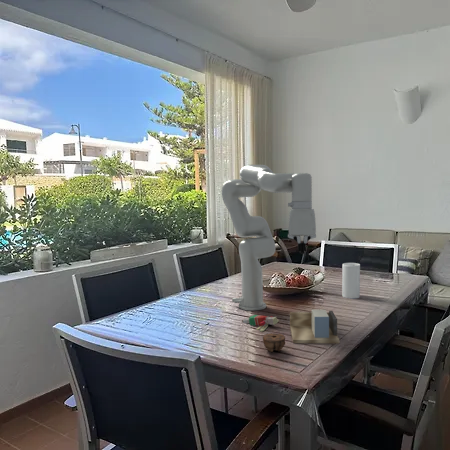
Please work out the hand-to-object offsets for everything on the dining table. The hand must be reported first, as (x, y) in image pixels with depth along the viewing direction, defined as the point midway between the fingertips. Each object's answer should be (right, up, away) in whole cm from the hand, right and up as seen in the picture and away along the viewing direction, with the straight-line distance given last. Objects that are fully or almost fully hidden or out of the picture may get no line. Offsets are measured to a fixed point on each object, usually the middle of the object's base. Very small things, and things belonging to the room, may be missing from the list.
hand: (302, 253), depth 164 cm
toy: (-16, -30, +6) cm, 34 cm away
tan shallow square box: (+3, -30, -7) cm, 31 cm away
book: (+5, -29, -9) cm, 30 cm away
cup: (+32, -24, +44) cm, 60 cm away
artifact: (-13, -32, -21) cm, 40 cm away
